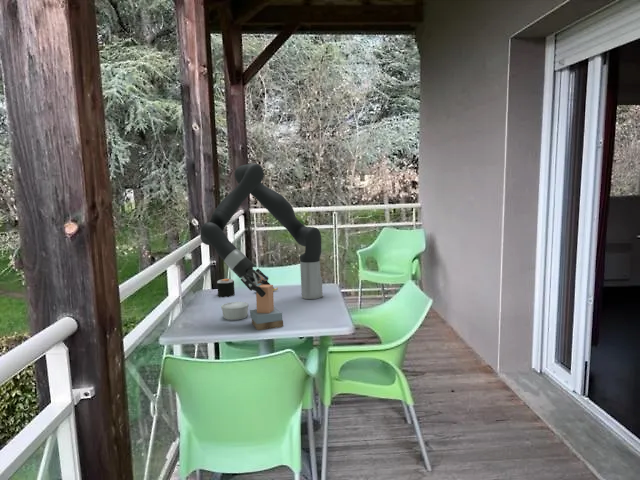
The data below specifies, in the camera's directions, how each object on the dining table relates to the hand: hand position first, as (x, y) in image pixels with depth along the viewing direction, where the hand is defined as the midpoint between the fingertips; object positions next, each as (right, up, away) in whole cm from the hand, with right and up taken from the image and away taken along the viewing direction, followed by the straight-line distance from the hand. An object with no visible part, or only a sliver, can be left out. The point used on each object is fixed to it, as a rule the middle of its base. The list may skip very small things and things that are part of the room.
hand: (268, 292), depth 192 cm
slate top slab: (-1, -10, +2) cm, 10 cm away
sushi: (-26, -7, +55) cm, 62 cm away
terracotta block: (-1, -7, +1) cm, 7 cm away
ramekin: (-15, -12, +15) cm, 24 cm away
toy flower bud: (-7, -6, +58) cm, 58 cm away
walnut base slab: (-1, -13, +2) cm, 13 cm away
